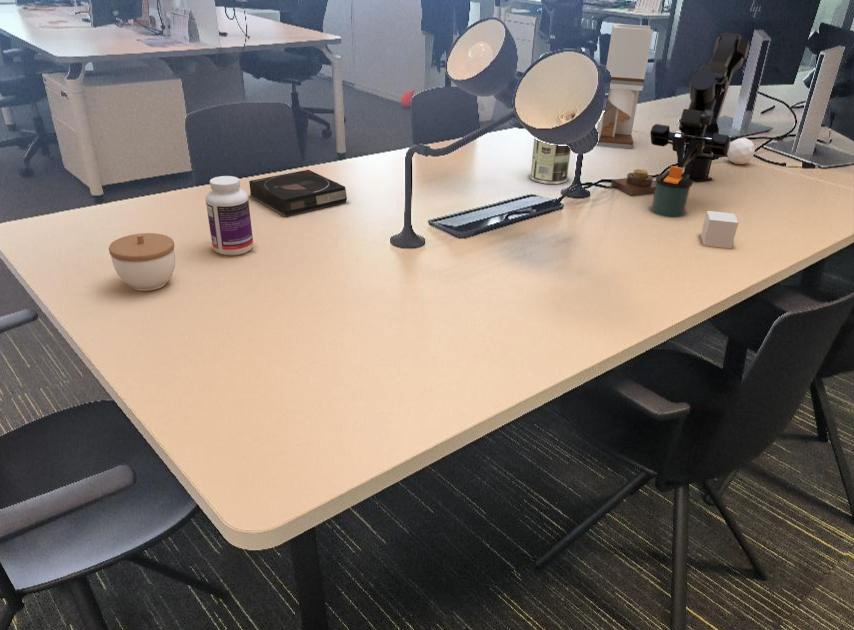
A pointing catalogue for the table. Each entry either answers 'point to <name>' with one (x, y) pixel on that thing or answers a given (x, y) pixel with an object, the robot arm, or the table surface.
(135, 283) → the trinket box
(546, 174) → the coffee can
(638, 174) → the call button
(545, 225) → the table surface
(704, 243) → the white cube
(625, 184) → the block
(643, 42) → the white pillar on base
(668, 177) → the slider
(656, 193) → the tumbler
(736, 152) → the geometric ball
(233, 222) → the pill bottle
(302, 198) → the portable cd player
